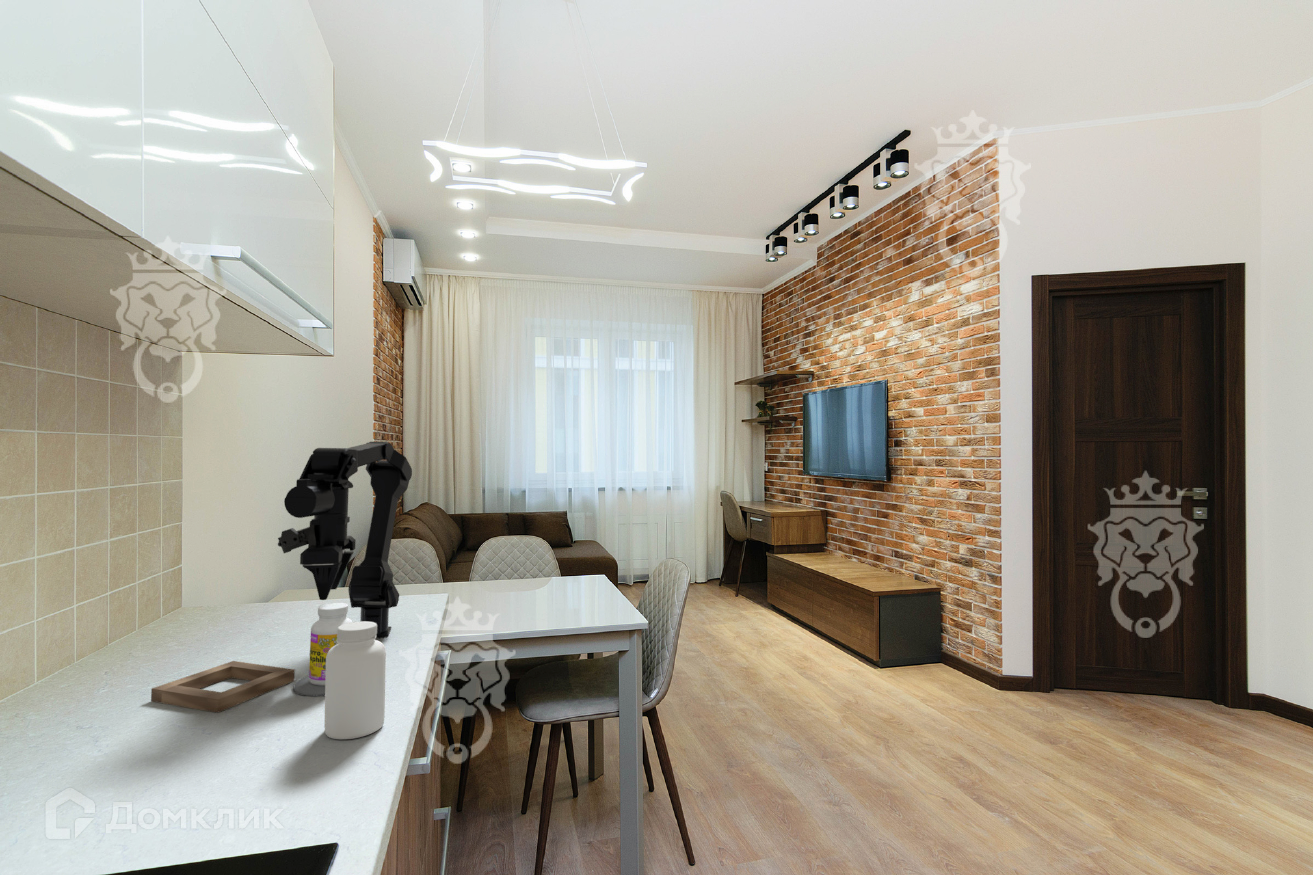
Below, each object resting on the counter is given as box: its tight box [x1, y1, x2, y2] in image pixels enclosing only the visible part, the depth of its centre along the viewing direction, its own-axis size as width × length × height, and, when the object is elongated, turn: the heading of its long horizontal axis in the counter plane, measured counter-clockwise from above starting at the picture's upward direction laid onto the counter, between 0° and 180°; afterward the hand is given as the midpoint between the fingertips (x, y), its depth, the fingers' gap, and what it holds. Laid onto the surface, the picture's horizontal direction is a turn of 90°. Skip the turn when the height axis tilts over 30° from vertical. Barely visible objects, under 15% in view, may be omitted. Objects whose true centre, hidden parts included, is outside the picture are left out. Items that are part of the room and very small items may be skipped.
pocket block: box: [150, 660, 296, 713], centre depth 103 cm, size 14×14×2 cm
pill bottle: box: [323, 621, 387, 740], centre depth 90 cm, size 8×8×15 cm
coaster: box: [293, 675, 325, 697], centre depth 107 cm, size 11×11×1 cm
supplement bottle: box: [308, 602, 354, 686], centre depth 107 cm, size 7×7×13 cm
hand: (328, 594), depth 118 cm, fingers open, 9 cm apart
